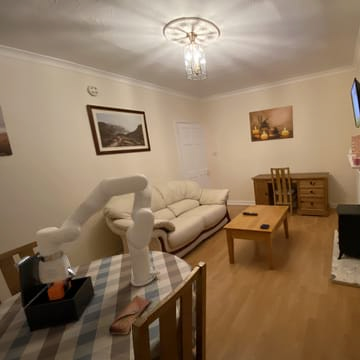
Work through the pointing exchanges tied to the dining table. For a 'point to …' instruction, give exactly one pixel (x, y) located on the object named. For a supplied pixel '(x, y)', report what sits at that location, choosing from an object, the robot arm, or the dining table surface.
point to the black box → (60, 305)
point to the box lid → (29, 278)
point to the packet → (56, 290)
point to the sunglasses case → (129, 316)
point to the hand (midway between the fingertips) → (60, 292)
